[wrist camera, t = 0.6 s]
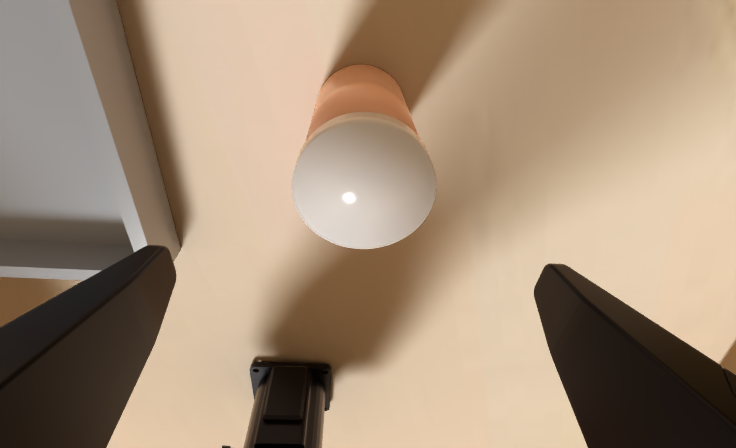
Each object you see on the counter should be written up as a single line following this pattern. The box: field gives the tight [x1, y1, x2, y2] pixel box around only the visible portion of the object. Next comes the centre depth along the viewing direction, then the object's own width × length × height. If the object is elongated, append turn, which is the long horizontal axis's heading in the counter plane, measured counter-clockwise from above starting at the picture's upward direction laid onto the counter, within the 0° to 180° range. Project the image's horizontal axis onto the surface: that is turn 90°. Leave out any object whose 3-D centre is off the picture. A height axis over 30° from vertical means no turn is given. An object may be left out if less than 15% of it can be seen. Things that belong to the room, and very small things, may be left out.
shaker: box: [292, 64, 436, 249], centre depth 15 cm, size 5×5×8 cm
